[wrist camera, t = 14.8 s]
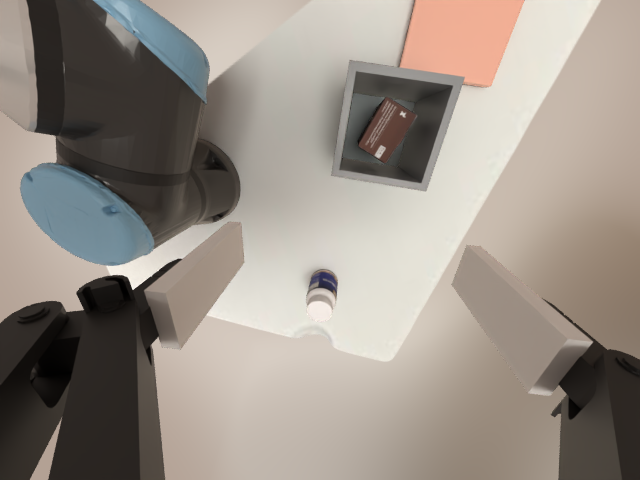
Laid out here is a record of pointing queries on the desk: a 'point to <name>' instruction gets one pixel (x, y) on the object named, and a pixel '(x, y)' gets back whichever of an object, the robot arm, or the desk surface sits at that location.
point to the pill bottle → (321, 296)
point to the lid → (460, 37)
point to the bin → (423, 135)
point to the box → (386, 129)
